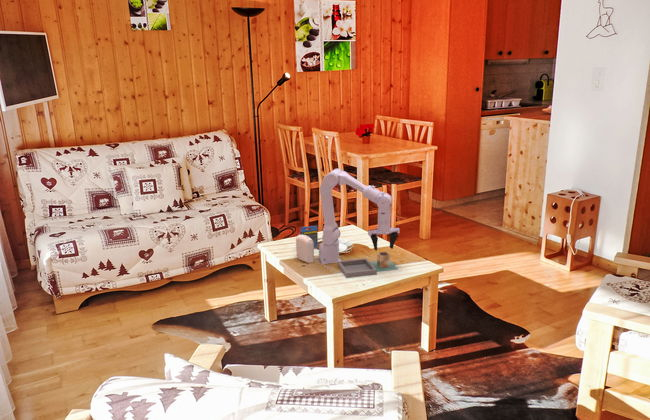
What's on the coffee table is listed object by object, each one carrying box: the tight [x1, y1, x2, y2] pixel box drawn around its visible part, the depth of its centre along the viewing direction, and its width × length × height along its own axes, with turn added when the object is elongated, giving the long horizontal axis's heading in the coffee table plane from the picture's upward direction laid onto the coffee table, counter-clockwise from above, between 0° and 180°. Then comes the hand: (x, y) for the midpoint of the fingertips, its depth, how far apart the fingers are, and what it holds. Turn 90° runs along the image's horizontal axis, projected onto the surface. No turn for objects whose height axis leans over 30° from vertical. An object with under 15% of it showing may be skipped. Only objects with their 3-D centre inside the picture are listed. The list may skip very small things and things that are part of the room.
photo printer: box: [295, 234, 315, 264], centre depth 245 cm, size 10×4×12 cm, turn 39°
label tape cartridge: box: [298, 225, 319, 249], centre depth 260 cm, size 9×4×12 cm, turn 107°
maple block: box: [376, 251, 391, 268], centre depth 236 cm, size 4×4×6 cm
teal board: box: [369, 260, 399, 273], centre depth 237 cm, size 11×11×1 cm
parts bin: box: [337, 258, 378, 279], centre depth 233 cm, size 14×14×2 cm
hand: (383, 248), depth 235 cm, fingers open, 7 cm apart
